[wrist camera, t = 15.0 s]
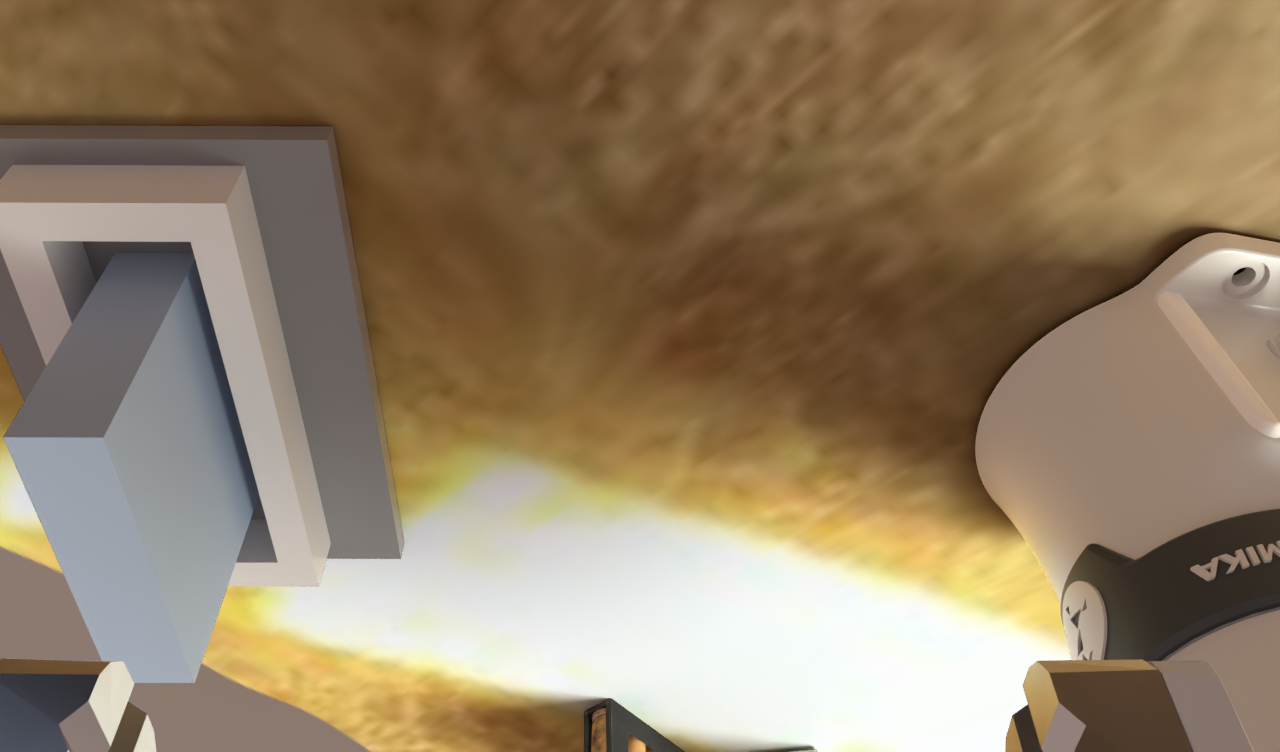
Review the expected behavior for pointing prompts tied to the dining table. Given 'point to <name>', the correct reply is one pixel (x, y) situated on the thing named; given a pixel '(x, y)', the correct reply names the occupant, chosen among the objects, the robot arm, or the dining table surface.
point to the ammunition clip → (621, 731)
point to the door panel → (140, 465)
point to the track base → (222, 306)
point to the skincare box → (806, 751)
